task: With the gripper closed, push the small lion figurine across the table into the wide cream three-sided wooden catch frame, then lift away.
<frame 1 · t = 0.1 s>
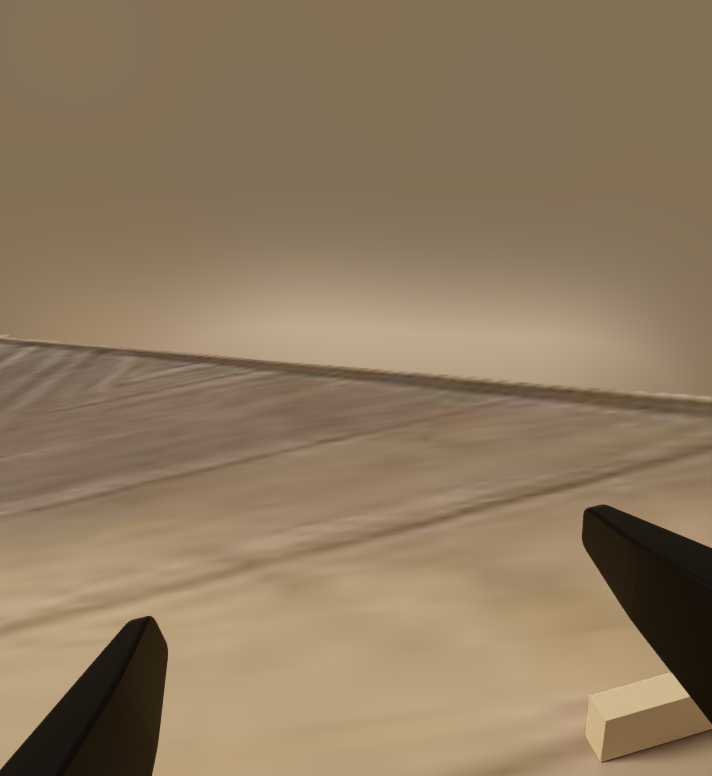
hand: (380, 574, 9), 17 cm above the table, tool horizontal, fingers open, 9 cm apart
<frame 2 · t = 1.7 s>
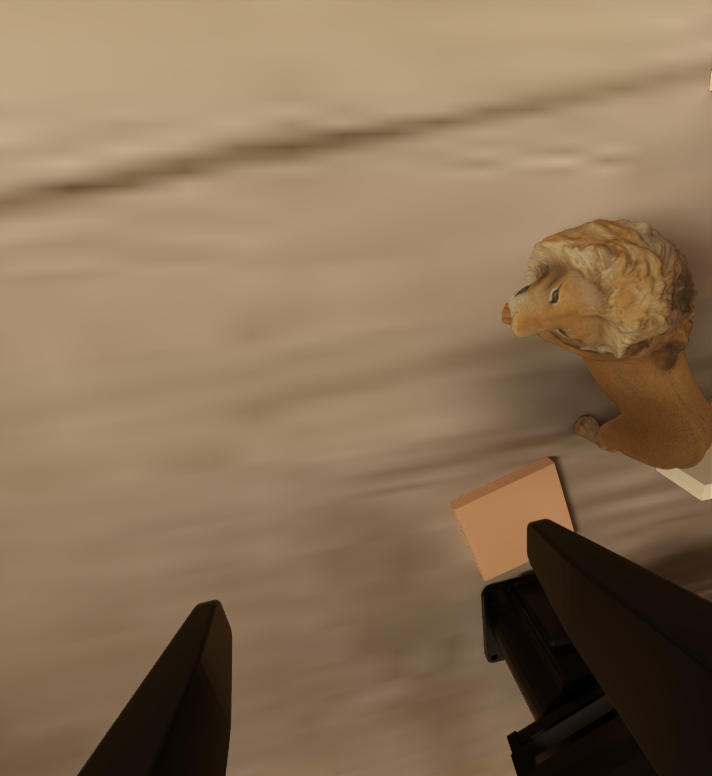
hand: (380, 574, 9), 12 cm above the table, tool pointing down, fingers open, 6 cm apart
terracotta tile: (507, 512, 25), on the table
lion figurine: (547, 338, 21), on the table
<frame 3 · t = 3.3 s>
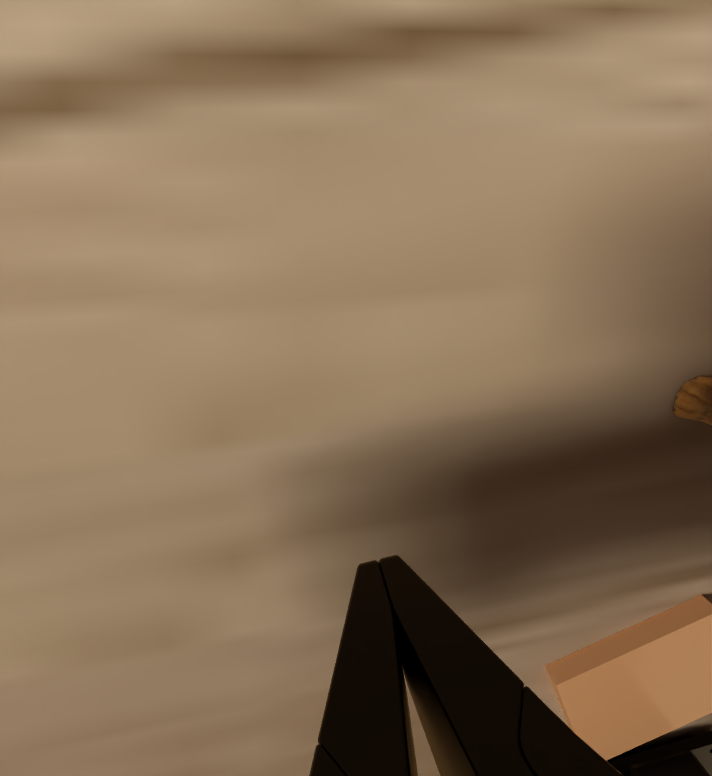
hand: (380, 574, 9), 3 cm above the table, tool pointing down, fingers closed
terracotta tile: (624, 664, 17), on the table
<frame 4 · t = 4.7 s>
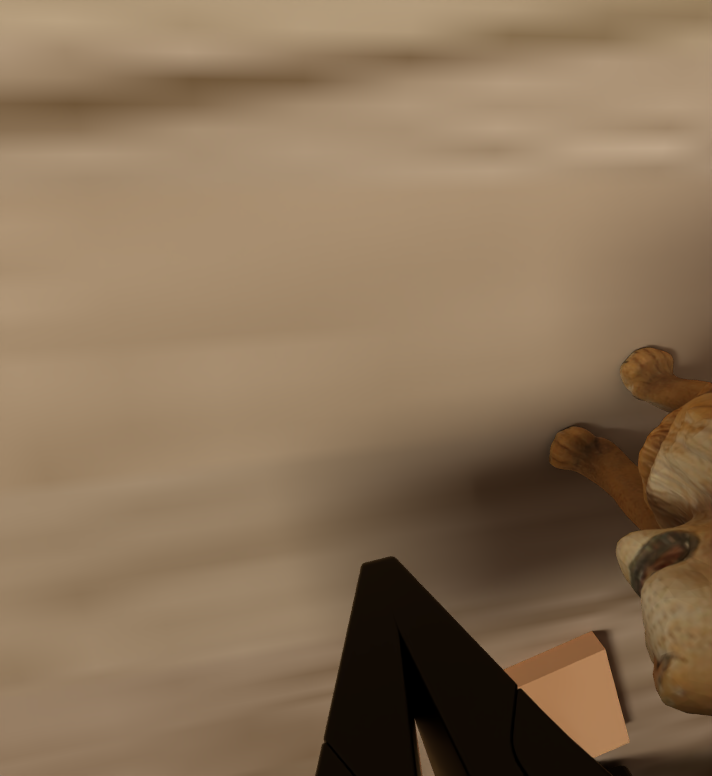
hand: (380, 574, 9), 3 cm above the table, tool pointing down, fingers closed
terracotta tile: (524, 698, 16), on the table
lion figurine: (621, 479, 12), on the table, touching gripper
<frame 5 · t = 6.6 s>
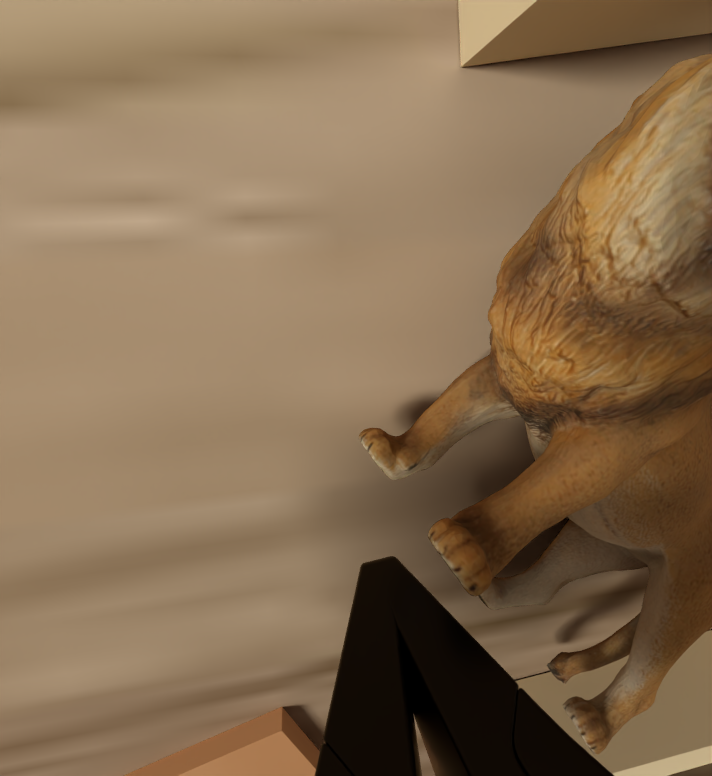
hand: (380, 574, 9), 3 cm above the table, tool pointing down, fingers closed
terracotta tile: (244, 768, 15), on the table
lion figurine: (467, 605, 9), point 3 cm above the table, touching gripper
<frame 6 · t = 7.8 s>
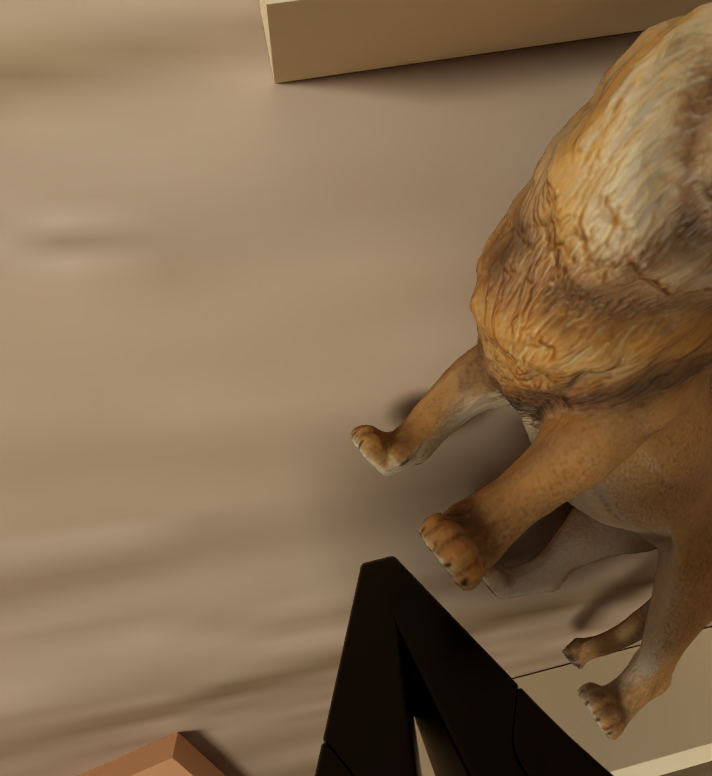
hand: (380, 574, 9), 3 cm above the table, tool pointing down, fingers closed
catch frame: (606, 441, 11), on the table
lion figurine: (469, 597, 9), point 3 cm above the table, touching gripper
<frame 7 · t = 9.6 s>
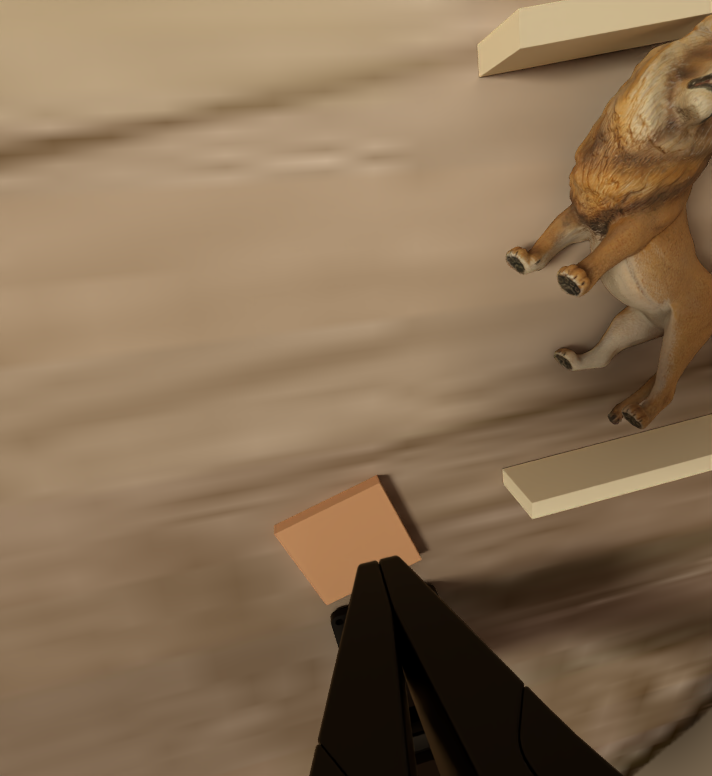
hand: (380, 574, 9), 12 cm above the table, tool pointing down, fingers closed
catch frame: (632, 276, 20), on the table
terracotta tile: (348, 532, 24), on the table
lion figurine: (569, 332, 17), point 3 cm above the table
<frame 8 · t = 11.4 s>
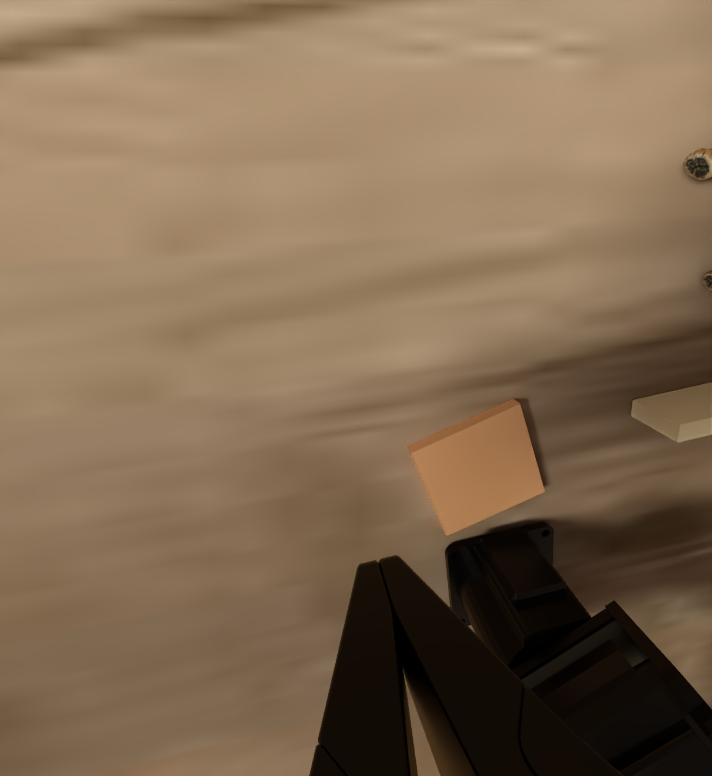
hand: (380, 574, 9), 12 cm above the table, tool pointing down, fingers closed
terracotta tile: (472, 461, 23), on the table
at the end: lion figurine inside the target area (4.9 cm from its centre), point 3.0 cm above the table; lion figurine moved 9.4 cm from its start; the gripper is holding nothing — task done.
